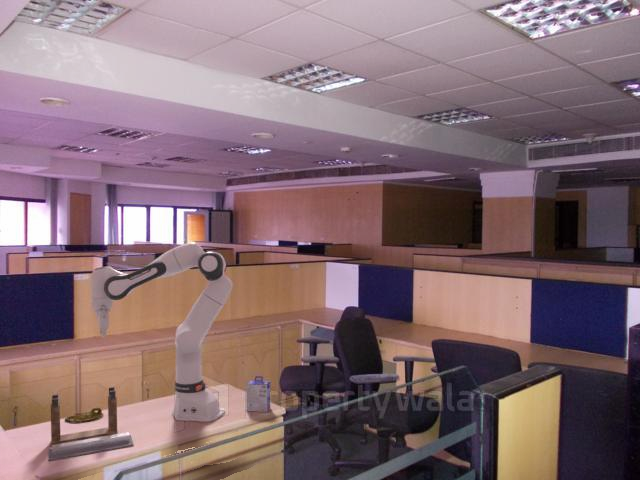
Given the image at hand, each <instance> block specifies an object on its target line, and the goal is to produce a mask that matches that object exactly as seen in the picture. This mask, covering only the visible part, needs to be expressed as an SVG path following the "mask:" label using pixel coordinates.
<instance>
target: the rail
mask: <svg viewBox="0 0 640 480" xmlns="http://www.w3.org/2000/svg"><path fill="white" fill-rule="evenodd" d="M130 435H131V434H130V433H129V431H126V432H120V433H118V434H114V435H108V436H103V437H97V438H91V439H85V440H79V441H73V442H67V443H62V444H56V445H52V447H51V448H52V455H56V454H62V453H68V452H73V451H79V450H85V449H90V448H96V447H101V446H107V445H113V444H118V443H124V442H129V441H130Z"/></svg>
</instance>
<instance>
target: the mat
mask: <svg viewBox="0 0 640 480" xmlns="http://www.w3.org/2000/svg"><path fill="white" fill-rule="evenodd" d="M129 435H130V441H129V442H124V443H118V444H113V445H107V446H101V447H96V448H90V449H85V450H79V451H73V452H68V453H62V454H56V455H52V447H51V448H49V452H48V462H54V461H58V460H63V459H64V460H65V459H68V458H75V457H79V456H80V457H81V456H87V455H90V454H96V453H101V452H107V451H112V450H118V449H119V450H120V449H123V448H124V449H125V448H129V447H134V441H133V438H132V434H129Z"/></svg>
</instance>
